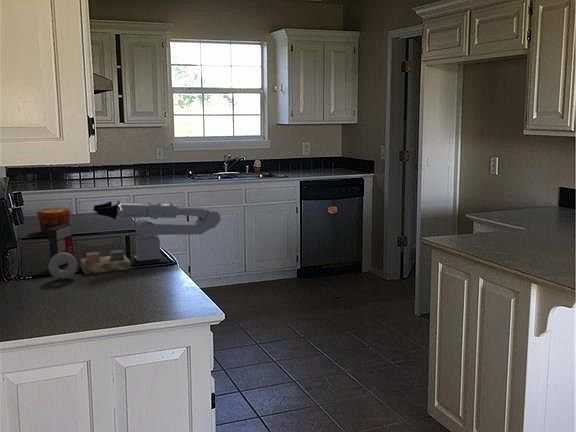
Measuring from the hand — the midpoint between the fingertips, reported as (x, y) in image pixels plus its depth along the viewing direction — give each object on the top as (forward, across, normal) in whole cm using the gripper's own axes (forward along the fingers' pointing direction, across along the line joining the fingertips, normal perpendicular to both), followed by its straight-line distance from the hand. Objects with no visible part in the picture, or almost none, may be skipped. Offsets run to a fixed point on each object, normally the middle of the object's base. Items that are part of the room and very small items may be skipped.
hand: (95, 209), depth 239 cm
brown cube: (+1, +8, +20) cm, 21 cm away
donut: (+13, +18, +23) cm, 32 cm away
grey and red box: (+11, -5, +23) cm, 26 cm away
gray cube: (-8, +8, +19) cm, 22 cm away
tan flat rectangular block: (-3, +8, +22) cm, 23 cm away
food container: (+7, -71, +23) cm, 75 cm away
